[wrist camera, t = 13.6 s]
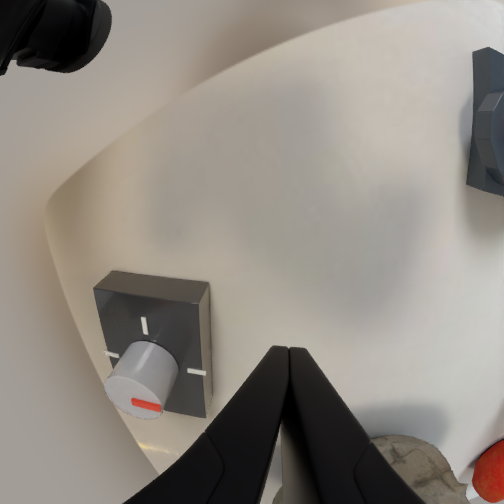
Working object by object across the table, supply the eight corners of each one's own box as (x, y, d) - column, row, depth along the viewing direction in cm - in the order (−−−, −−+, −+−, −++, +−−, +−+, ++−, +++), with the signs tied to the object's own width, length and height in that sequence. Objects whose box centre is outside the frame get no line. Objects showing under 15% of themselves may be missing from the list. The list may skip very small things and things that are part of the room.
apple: (456, 473, 31) (468, 520, 21) (493, 436, 27) (514, 488, 17) (495, 462, 31) (509, 503, 21) (530, 425, 27) (550, 468, 17)
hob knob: (131, 376, 22) (110, 413, 18) (121, 335, 21) (95, 372, 17) (181, 387, 22) (165, 428, 18) (176, 346, 20) (155, 388, 16)
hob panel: (108, 269, 22) (88, 288, 19) (213, 282, 22) (202, 305, 19) (131, 378, 27) (119, 400, 24) (215, 395, 26) (208, 420, 23)
